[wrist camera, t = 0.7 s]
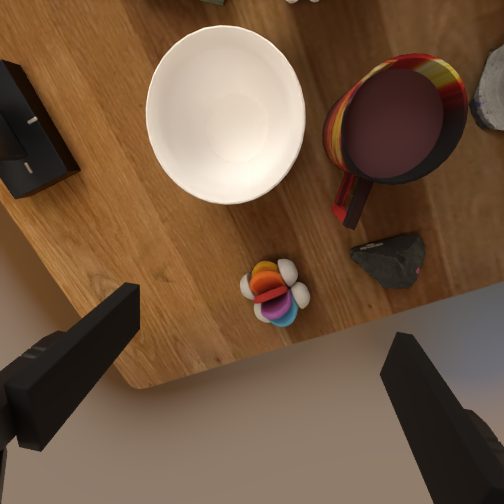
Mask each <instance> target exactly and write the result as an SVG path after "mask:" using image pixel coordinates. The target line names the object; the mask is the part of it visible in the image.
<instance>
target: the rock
mask: <svg viewBox="0 0 504 504" xmlns="http://www.w3.org/2000/svg"><path fill="white" fill-rule="evenodd" d="M421 240H422V239H421V237H420V235H418V234H415V235H400V236H397V237H395V238H389V239H385V240H382V241H379V242H376V243H372V244H368V245H363V246H359V247H357V248H354V249H352V250H351V251H350V258H351V259H353V260H354V261H355V262H356V263H358V264H359V265H360V266H361V267H362V268H363V269H364V270H365V271H366V272H368V273H369V274H370V275H371V276H372V277H373V278H374V279H376V280H377V281H378V282H379V283H380V284H381V286H382V287H383V288H392V289H398V288H409V287H412V286H413V283H414V282H415V281H416V280H417V276H418V274H419V270H420V268H421V267H422V265H423V261H424V257H425V245H424V243H423V242H422V241H421Z"/></svg>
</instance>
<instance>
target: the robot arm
mask: <svg viewBox="0 0 504 504" xmlns="http://www.w3.org/2000/svg"><path fill="white" fill-rule="evenodd" d="M139 329H140V285H138V284H132V283H127V282H125V283H124V284H123V285H122V286H120V287H119V288H118V289H117V290H116V291H114V292H113V293H112V294H111V295H110V296H108V297H107V298H106V299H105V300H104V301H102V302H101V303H100V304H99V305H98V306H97V307H95V308H94V309H93V310H92V311H91V312H89V313H88V314H87V315H86V316H85V317H83V318H82V319H81V320H80V321H79V322H78V323H76V324H75V325H74V326H73V327H72V328H70V329H69V330H68V331H67V332H63V331H56V332H54V333H52V334H50V335H48V336H46V337H43V338H42V339H41V340H40V341H38V342H37V343H36V344H35V345H33V346H32V347H31V349H28V350H27V351H26V352H24V353H23V354H22V355H21V357H20V356H19V357H18V358H17V359H15V360H14V361H13V362H11V363H10V364H9V365H8V366H6V367H5V368H4V369H3V370H2V371H0V504H1V500H2V491H3V483H4V475H5V467H6V459H7V449H6V445H7V444H8V443H9V442H10V441H11V440H12V439H13V438H14V437H15V436H17V440H18V444H19V447H22V448H27V449H31V450H36V451H40V452H41V451H42V450H43V449H44V447H45V446H46V445H47V444H48V443H49V441H50V440H51V439H52V438H53V436H54V435H55V434H56V433H57V431H58V430H59V429H60V428H61V426H62V425H63V424H64V423H65V421H66V420H67V419H68V418H69V417H70V415H71V414H72V413H73V412H74V410H75V409H76V408H77V407H78V405H79V404H80V403H81V402H82V400H83V399H84V398H85V397H86V395H87V394H88V393H89V392H90V390H91V389H92V388H93V387H94V385H95V384H96V383H97V382H98V380H99V379H100V378H101V377H102V375H103V374H104V373H105V372H106V370H107V369H108V368H109V367H110V366H111V364H112V363H113V362H114V361H115V359H116V358H117V357H118V356H119V354H120V353H121V352H122V351H123V349H124V348H125V347H126V346H127V344H128V343H129V342H130V341H131V339H132V338H133V337H134V336H135V334H136V333H137V332H138V331H139ZM380 376H381V379H382V381H383V383H384V386H385V388H386V391H387V393H388V396H389V397H390V400H391V403H392V405H393V407H394V409H395V412H396V415H397V417H398V419H399V422H400V424H401V426H402V429H403V431H404V433H405V436H406V438H407V440H408V443H409V446H410V448H411V450H412V453H413V455H414V457H415V460H416V462H417V465H418V467H419V469H420V472H421V474H422V476H423V479H424V481H425V484H426V486H427V488H428V491H429V493H430V496H431V498H432V500H433V503H434V504H504V447H503V445H502V444H501V442H498V438H497V437H496V436H495V434H494V433H493V432H492V430H491V429H490V427H489V426H488V425H487V424H486V423H485V422H484V421H483V420H482V419H481V418H480V417H479V416H478V415H477V414H476V413H474V412H473V411H472V410H467V409H463V407H462V406H461V404H460V403H459V401H458V400H457V398H456V397H455V395H454V394H453V393H452V391H451V390H450V388H449V387H448V385H447V384H446V382H445V381H444V379H443V378H442V377H441V375H440V374H439V372H438V371H437V369H436V368H435V366H434V365H433V363H432V362H431V361H430V359H429V358H428V356H427V355H426V353H425V352H424V351H423V349H422V347H421V346H420V344H419V343H418V342H417V340H416V339H415V337H414V336H413V335H412V334H406V333H401V332H397V333H396V335H395V338H394V340H393V343H392V345H391V348H390V350H389V353H388V355H387V358H386V360H385V363H384V365H383V367H382V370H381V372H380Z"/></svg>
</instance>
